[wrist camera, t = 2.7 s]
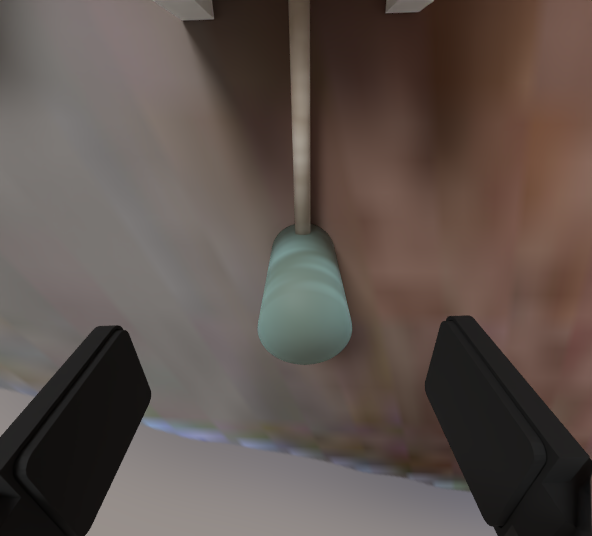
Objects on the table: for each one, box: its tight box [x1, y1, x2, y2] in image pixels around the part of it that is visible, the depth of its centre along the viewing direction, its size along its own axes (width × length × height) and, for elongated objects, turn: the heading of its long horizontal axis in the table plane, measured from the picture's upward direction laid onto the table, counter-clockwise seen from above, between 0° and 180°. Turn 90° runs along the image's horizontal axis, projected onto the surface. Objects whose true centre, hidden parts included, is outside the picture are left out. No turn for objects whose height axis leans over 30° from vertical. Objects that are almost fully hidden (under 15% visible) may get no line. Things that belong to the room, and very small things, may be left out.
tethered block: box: [258, 0, 352, 365], centre depth 9 cm, size 5×19×6 cm, turn 1°
